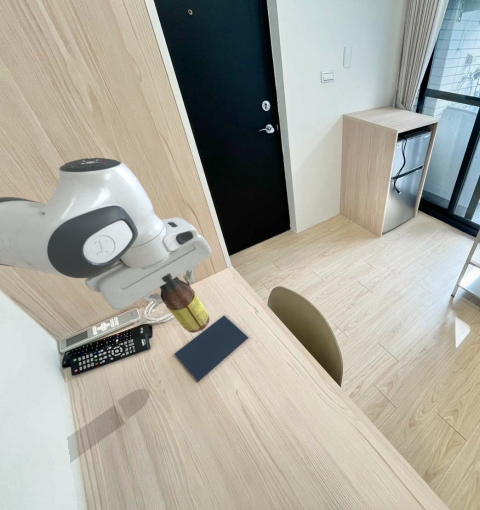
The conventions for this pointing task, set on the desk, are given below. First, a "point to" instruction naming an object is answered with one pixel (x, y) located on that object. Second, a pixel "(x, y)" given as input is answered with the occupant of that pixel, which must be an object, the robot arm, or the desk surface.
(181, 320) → the sauce bottle
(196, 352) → the cloth
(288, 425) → the desk surface
